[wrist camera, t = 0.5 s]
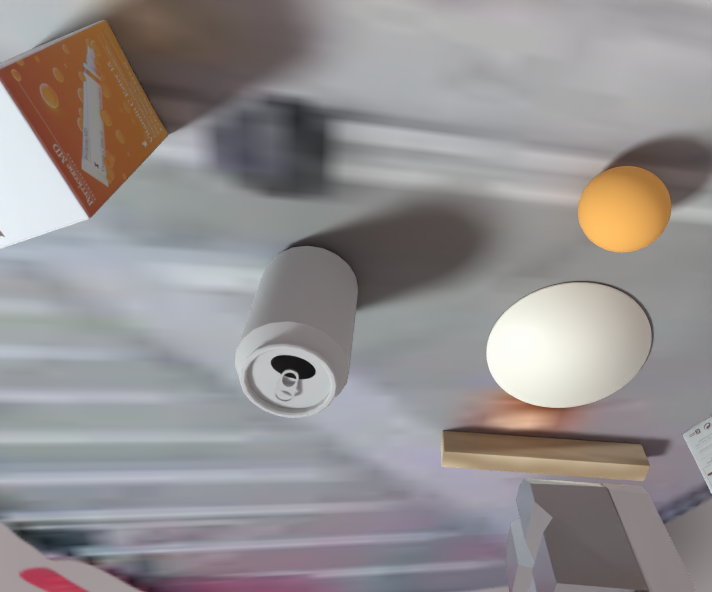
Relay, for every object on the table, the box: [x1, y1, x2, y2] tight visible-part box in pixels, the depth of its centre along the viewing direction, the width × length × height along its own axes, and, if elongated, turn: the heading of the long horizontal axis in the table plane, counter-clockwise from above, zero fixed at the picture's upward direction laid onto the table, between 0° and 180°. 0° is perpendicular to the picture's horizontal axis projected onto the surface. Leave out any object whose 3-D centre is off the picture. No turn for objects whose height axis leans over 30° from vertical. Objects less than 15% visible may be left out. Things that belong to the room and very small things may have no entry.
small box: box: [0, 20, 168, 249], centre depth 36 cm, size 8×6×13 cm
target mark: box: [486, 282, 652, 408], centre depth 51 cm, size 13×13×1 cm
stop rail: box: [441, 431, 650, 481], centre depth 56 cm, size 2×18×2 cm, turn 88°
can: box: [235, 246, 358, 418], centre depth 44 cm, size 8×8×12 cm
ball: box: [578, 166, 671, 252], centre depth 41 cm, size 6×6×6 cm
